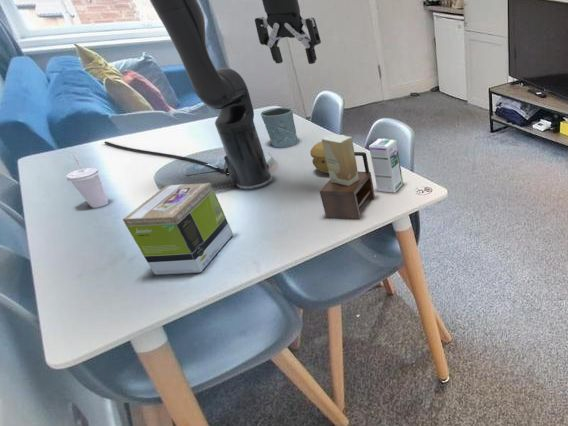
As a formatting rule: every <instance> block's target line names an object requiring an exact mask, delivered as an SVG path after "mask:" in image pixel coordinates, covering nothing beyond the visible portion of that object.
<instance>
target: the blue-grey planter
mask: <svg viewBox="0 0 568 426" xmlns="http://www.w3.org/2000/svg"><path fill="white" fill-rule="evenodd" d="M260 117H261V119H262V121H263V124H264V127H265V129H266V132H267V134H268V136H269V139H270V142H271V145H272V147H275V148H277V149H278V148H279V149H283V148H289V147H293V146H295V145H297V144H298V142H299V139H298V135H297V130H296V125H295V118H294V112H293V109H292V108H290V107H274V108H268V109H265V110H263V111H261V112H260Z"/></svg>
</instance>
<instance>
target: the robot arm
mask: <svg viewBox="0 0 568 426" xmlns="http://www.w3.org/2000/svg"><path fill="white" fill-rule="evenodd" d="M149 1H150V4H151V5H152V7H153V9H154V11H155V13H156V14H157V16H158V18H159V20H160V21H161V23H162V25H163V27H164V29H165V31H166V32H167V35H168V36H169V37H170V40H171V42H172V44H173V46H174V48H175V50H176V52H177V54H178V56H179V58H180V60H181V62H182V65H183V67H184V70H185V72H186V74H187V77H188V79H189V81H190V84H191V86H192V89H193V91H194V92H195V94H196V96H197V98H198V99H199V100H200V101H201V102H202V103H203V104H204V105H205V106H207V107H208V108H210V109H213V110H219V114H218V115H217V118H215V120H214V124H215V128H216V131H217V133H218V137H219V139H220V142H221V144H222V146H223V150H224V152H225V155H224V156H223V159H224V161H225V162H224V163H225V165H226V168H224V169H223V168H220V167H219V166H217V167H218V168H214V169H215V170H217V171H219V172H220V173H222V174H224V175H225V176H229V175H230V178H231V181H232V184H233V186H234V187H237V188H238V189H241V190H255V189H259V188H262V187H265V186H267V185H269V184H270V183H271V182H272V181H273V178H272V174H271V172H270V167H269V164H268V162H267V159H266V156H265V152H264V150H263V147H262V143H261V140H260V138H259V135H258V131H257V128H256V125H255V121H254V120H255V119H254V118H255V111H254V107H253V103H252V100H251V99H252V98H251V95H250V91H249V88H248V86H247V84H246V82H245V80H244V78H243V77H242V75H241V74H240V73H238V72H237V71H236V70H235V69H233V68H230V67H220V68H217V69H216V66H215V64H214V63H213V61H212V59H211V57H210V54H209V51H208V48H207V47H208V46H207V41H206V39H207V38H206V21H205V16H204V12H203V9H202V7H201V6H200V3H199V1H198V0H149ZM261 2H262V6H263V9H264V12H265V14H266V18H265V17H264V16H260V17H259V16H258V17H255V18H254V23H255V24H254V25H255V27H256V33H257V37H258V41H259V44H260V45H261V46H266V47H268V48H269V50H270V54H271V58H272V60H273V62H275V64H282V63H283V56H282V53H281V48H280V46H279V42H280V41H281V39H284V38H290V39H294V38H295V39H296V40H297V41H298V42H300V43H301V44H302V45H303V46H304V47H305V49H304V50H305V53H306V58H307V62H308V64H309V65H313V64H315V63H316V61H317V59H318V58H317V55H316V54H317V53H316V49H315V47H316V46H318V45H320V44H321V43H322V40H321V37H320V33H319V29H318V25H317V22H316V19H315V18H314V17H308V18H303V17H302V16H301V9H300V4H299V0H261ZM303 26H304V27H305V28H306V29H307V32H308V33H307V32H306V31H305V30H304V28H303ZM269 27H270V28H271V31H270V34H269V30H268V28H269ZM104 144H105V145H109V146H111V147H114V148H118V149H122V150H128V151H133V152H137V153H143V154H151V155H157V156H162V157H169V158H175V159H180V160H186V161H190V162H194V163H197V164H201V165H204V164H208V162H205V161H202V160H198V159H195V158H190V157H186V156H181V155H176V154H170V153H163V152H157V151H151V150H145V149H140V148H139V149H137V148H132V147H128V146H124V145H119V144H115V143H113V142H109V141H104ZM227 173H229V174H227Z"/></svg>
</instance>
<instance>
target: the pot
mask: <svg viewBox="0 0 568 426" xmlns="http://www.w3.org/2000/svg"><path fill="white" fill-rule="evenodd" d="M309 152H310V153H309V154H310V156H311V158H312V160H311V162H312V165H313V166H314V167H315V168H316V169H317V170H318V171H320V172H321V173H324V174H329V172H328V167H327V162H326V157H325V153H324V148H323V143H322V141H319V142H317V143H316V144H314V145H313V146H312V148H311V149H310V151H309Z"/></svg>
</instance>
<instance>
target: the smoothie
mask: <svg viewBox="0 0 568 426" xmlns="http://www.w3.org/2000/svg"><path fill="white" fill-rule="evenodd" d="M73 158H74V159H75V161H76V163H77V165H78V167H79V169H76V170H74V171H73V170H72V171H71V172H69V173H68V174H66V175H65V178H66V180H67V181H68V182H71V184H72V185H73V186H74V188H75V189H76V190H77V191H78V192H79V194H80V195H81V196H82V197H83V199H84V200H85V202H87V204H88V205H89V206H90V208H93V209H97V208H102V207H105V206H106V205H108V204H109V200H108V196H107V195H106V191H105V189H104V185H103V183H102V181H101V177H100V175H99V174H100V171H99V170H98V168H95V167H86V168H85V167H83V164H82V163H81V161H80V160H79V158H78V156H73Z"/></svg>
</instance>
